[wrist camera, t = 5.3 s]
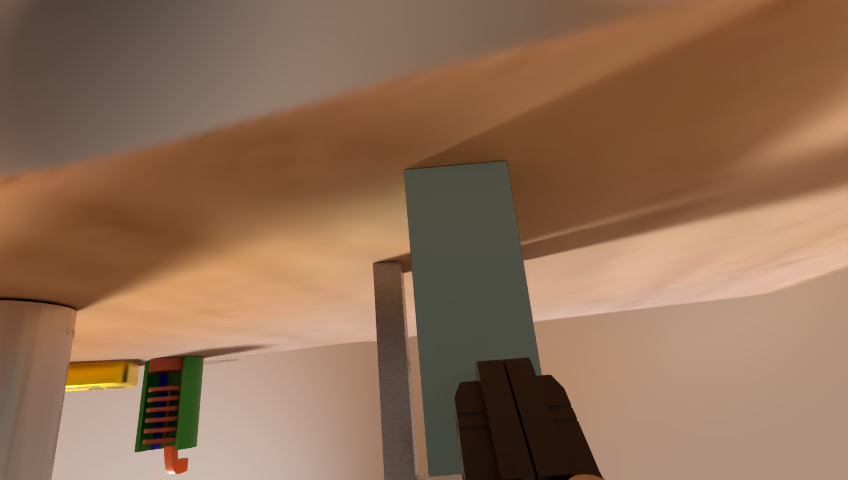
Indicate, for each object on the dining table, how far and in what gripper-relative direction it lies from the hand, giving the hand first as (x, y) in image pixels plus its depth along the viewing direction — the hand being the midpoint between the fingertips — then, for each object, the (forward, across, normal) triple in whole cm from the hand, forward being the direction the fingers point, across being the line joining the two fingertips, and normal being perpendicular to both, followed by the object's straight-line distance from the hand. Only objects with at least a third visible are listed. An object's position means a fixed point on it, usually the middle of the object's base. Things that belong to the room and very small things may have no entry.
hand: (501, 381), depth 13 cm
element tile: (+57, -66, -45) cm, 99 cm away
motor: (+58, -50, -46) cm, 89 cm away
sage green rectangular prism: (+14, 0, -1) cm, 14 cm away
